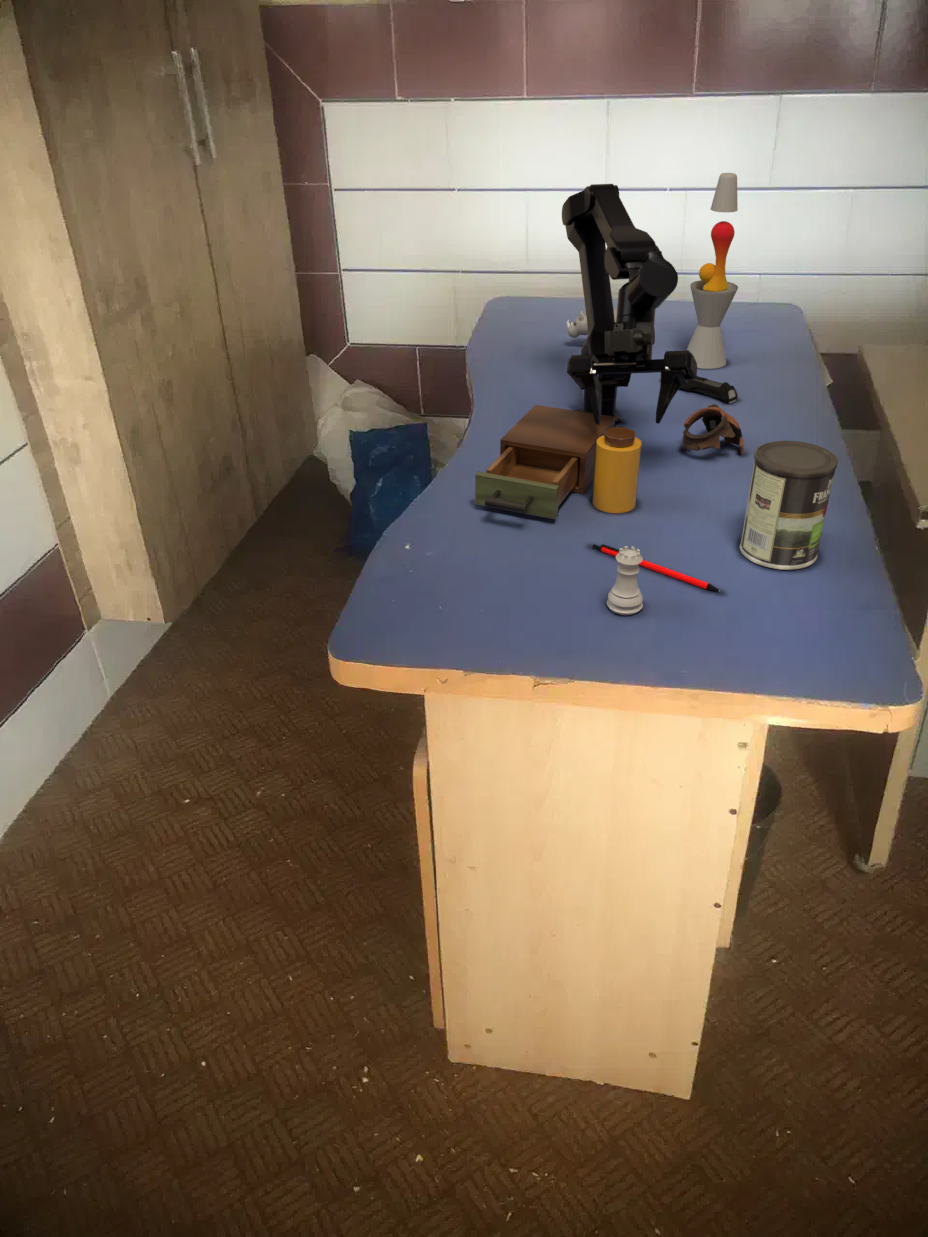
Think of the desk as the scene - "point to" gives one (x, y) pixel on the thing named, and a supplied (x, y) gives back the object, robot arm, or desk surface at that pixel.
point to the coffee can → (787, 504)
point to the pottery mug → (712, 430)
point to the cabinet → (561, 436)
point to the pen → (661, 569)
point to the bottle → (616, 470)
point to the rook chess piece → (626, 583)
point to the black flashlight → (712, 388)
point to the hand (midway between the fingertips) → (627, 423)
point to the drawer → (527, 481)
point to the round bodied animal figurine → (581, 325)
